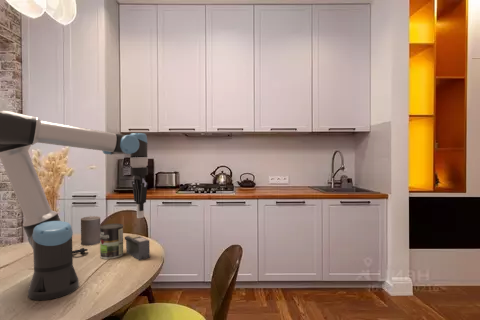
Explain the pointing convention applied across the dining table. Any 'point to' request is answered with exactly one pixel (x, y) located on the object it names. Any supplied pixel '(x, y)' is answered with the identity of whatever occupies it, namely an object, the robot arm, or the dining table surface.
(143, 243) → the box
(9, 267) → the dining table surface
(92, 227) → the pillar candle
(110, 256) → the coffee can
